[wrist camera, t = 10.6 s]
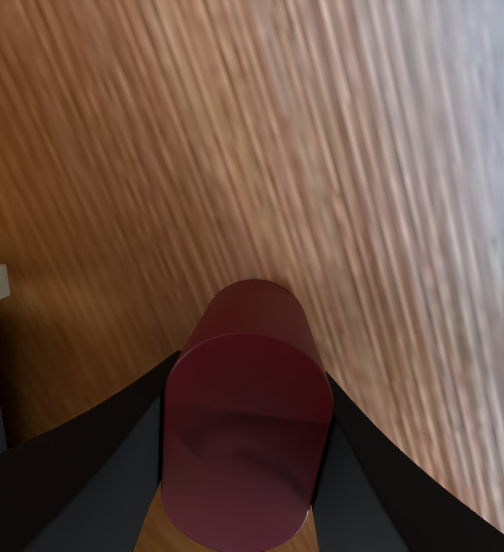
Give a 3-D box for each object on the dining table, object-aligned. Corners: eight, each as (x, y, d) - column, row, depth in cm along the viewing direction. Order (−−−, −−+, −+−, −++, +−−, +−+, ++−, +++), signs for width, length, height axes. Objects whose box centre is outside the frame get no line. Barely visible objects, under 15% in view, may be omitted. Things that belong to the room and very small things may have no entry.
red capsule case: (315, 286, 10) (351, 345, 6) (286, 438, 11) (296, 564, 7) (207, 272, 10) (166, 320, 6) (195, 425, 12) (157, 543, 8)
